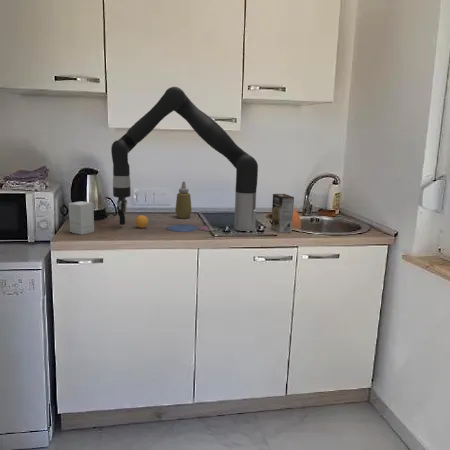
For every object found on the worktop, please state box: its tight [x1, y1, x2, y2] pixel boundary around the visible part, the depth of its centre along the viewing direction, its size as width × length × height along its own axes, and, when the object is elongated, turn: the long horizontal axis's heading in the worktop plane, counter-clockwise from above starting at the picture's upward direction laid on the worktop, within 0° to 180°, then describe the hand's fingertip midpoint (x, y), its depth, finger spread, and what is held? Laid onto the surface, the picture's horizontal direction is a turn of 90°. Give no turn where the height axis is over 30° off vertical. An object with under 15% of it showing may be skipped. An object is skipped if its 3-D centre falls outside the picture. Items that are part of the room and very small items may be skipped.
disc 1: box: [166, 224, 199, 233], centre depth 213 cm, size 14×14×1 cm
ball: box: [135, 214, 149, 229], centre depth 212 cm, size 6×6×6 cm
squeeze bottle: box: [175, 181, 192, 219], centre depth 235 cm, size 8×8×18 cm
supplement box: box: [68, 200, 95, 235], centre depth 200 cm, size 7×7×13 cm
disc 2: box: [197, 225, 211, 232], centre depth 214 cm, size 10×10×1 cm
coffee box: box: [270, 193, 295, 233], centre depth 214 cm, size 9×6×16 cm
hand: (122, 224), depth 211 cm, fingers closed
